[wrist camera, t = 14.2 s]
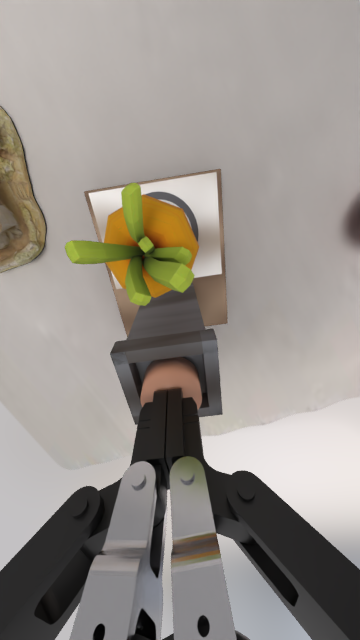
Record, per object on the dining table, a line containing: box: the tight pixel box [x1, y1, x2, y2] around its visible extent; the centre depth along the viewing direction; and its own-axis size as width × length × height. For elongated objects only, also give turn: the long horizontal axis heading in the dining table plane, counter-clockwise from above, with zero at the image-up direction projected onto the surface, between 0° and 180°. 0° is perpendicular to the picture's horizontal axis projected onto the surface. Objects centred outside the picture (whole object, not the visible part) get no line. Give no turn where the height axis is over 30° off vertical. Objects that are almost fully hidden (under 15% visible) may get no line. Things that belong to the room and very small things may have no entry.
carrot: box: [65, 183, 199, 306], centre depth 13 cm, size 5×5×15 cm
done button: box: [140, 357, 202, 409], centre depth 12 cm, size 3×3×2 cm
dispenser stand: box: [84, 169, 228, 425], centre depth 16 cm, size 15×12×13 cm
